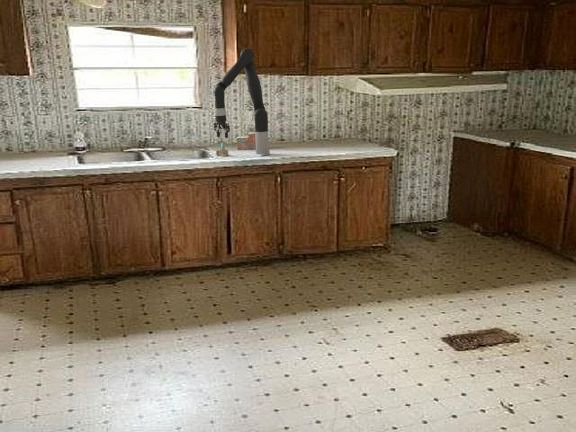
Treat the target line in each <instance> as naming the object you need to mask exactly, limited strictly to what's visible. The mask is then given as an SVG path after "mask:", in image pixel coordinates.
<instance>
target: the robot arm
mask: <svg viewBox="0 0 576 432" xmlns="http://www.w3.org/2000/svg"><path fill="white" fill-rule="evenodd" d="M239 55H240V56H239V58H238V60H237V61H236V62H235V63H234V65H232V66H231V68H230V69H229V70H228V71H227V72H226V73H225V74H224V75H223V77H222V78H221V80H219V81H218V83H216V85H215V86H214V88H213V93H214V110H215V111H214V114H215V115H214V116H215V122H213V130H214V132H216V137H217V138H220V137H221V133H220V131H221V130H222V131H224V138H225V139H228V138H229V132H231V129H230V128H231V127H230V123H229V122H228V123H227V111H226V103H225V99H226V98H225V95H226V94H225V91H226V89H228V87H230V85H232V84H233V82H234V81H235V80H236V78H237V77H238V75H239V74H240V73H241V72H242V71H243V70H244V73H245V80H246V86H247V89H248V93H249V96H250V98H251V101H252V105H253V112H254V130H255V131H254V132H255V138H256V149H255V154H256V155H260V157H264V156H268V155H270V154H271V153H270V152H271V151H270V141H269V122H268V121H269V118H268V112H267V110H266V107H265V105H264V101H263V99H264V98H263V91H262V85H261V82H260V78H259V75H258V73H257V69H256V67H255V63H254V60H255V52H254V51H253V49H252V48H244V49H242V50H241V51H240V54H239Z"/></svg>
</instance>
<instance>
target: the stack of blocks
mask: <svg viewBox="0 0 576 432" xmlns="http://www.w3.org/2000/svg"><path fill="white" fill-rule="evenodd" d="M236 146H237V147H236V150H237V149H238V150H256V138H255V131H254V132H248V136H237V137H236Z"/></svg>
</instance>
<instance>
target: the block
mask: <svg viewBox="0 0 576 432" xmlns="http://www.w3.org/2000/svg"><path fill="white" fill-rule="evenodd" d="M217 150H218V156H217V157H226V156H227V157H229V149H226V148H225V150H224V151H222V150H221V149H217Z"/></svg>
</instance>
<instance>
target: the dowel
mask: <svg viewBox="0 0 576 432" xmlns="http://www.w3.org/2000/svg"><path fill="white" fill-rule="evenodd" d="M225 145H226V144H225V143H224V142H221V149H222V151H224V150H225V149H226V147H225Z"/></svg>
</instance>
